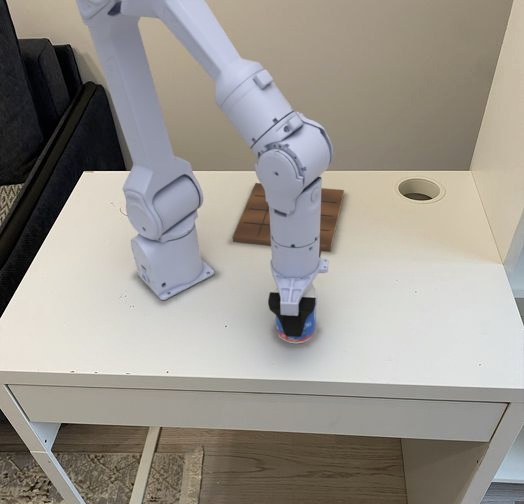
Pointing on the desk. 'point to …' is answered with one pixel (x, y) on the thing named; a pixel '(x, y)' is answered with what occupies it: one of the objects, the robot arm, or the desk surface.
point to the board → (258, 218)
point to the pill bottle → (309, 324)
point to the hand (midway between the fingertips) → (295, 315)
